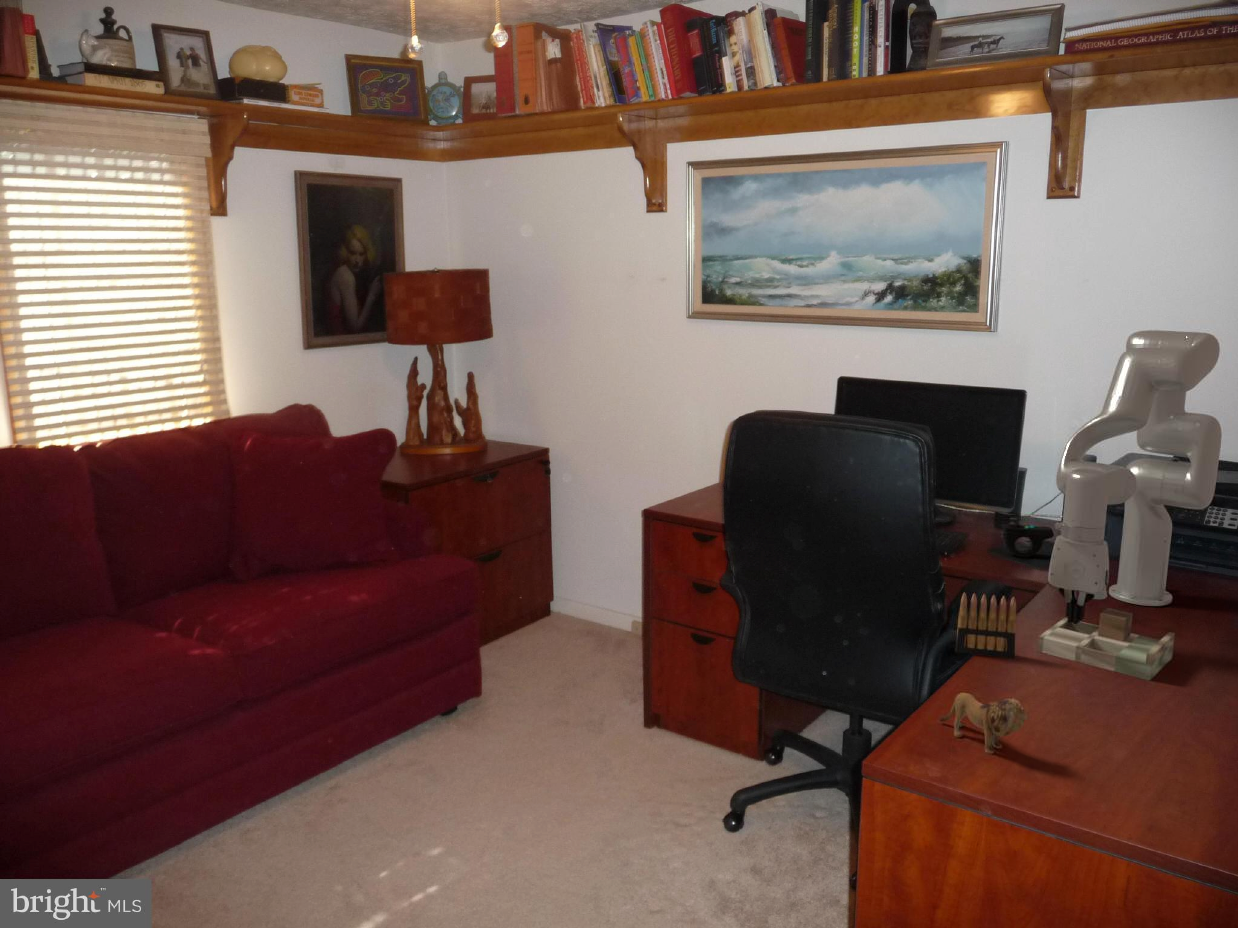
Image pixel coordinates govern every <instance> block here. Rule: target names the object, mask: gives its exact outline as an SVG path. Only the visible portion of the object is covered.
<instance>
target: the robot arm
mask: <svg viewBox="0 0 1238 928" xmlns="http://www.w3.org/2000/svg"><path fill="white" fill-rule="evenodd" d="M1220 348H1221V347H1220V343H1219V340H1218V339H1217V337H1216V336H1215V335H1213V334H1211V333H1208V332H1199V331H1197V332H1195V331H1178V330H1177V331H1175V330H1158V329H1157V330H1156V329H1155V330H1152V329H1151V330H1150V329H1149V330H1140V331H1136V332H1133V333H1132V334H1130V335H1129V336H1128V337H1127V339H1126V345H1125V351H1124V352H1122V354H1121V355H1120V356H1119V359H1118V360H1117V364H1116V367H1115V370H1114V372H1113V375H1112V379H1111V382H1110V385H1109V388H1108V391H1107V395H1106V397H1105V400H1104V403H1103V406H1102V410H1101V411H1100V413H1099V414H1097V415H1096V416H1094V417H1093V418H1091V419H1090V420H1089V421H1087V422H1086V423H1084V424H1083V425H1082V426H1081V427H1080V428H1078V430H1076V431H1075V432H1074V434H1073V435H1072V436H1070V438H1069V440H1068V442H1067V443H1066V445H1065V447H1064V450H1063V453H1062V455H1061V459H1060V462H1059V465H1058V469H1057V472H1056V476H1055V477H1056V480H1055V481H1056V483H1055V484H1056V487H1057V489H1058V491H1059V492H1060V493H1062V494H1063V495H1064V505H1063V512H1062V513H1063V517H1062V521H1061V522H1055V524H1054V529H1055V530H1058V531H1060V534H1059V535H1057V536H1056V539H1055V542H1054V544H1053V548H1052V551H1051V556H1050V557H1051V558H1050V562H1049V568H1048V577H1047V578H1048V579H1047V581H1048V582H1049V583H1048V588H1050V589H1053V590H1055V591H1057V592H1059V593H1060V595H1061V596H1062V597H1063V598H1064V601H1065V603H1066V609H1065V616H1066V618H1068V622H1069V623H1071V622H1072V623H1073V624H1077V623H1079V622H1080V621H1081V622H1082V621H1083V620H1084V618H1085V613H1086V611H1085V610H1086V604H1087V603H1088V602H1090V601H1092V600H1105V599H1106V598H1107V597H1108V593H1109V595H1110V596H1111V597H1112V598H1114V599H1115V600H1118V601H1121V602H1125V603H1129V604H1133V605H1138V606H1144V607H1145V606H1146V607H1147V606H1148V607H1162V606H1167V605H1169V604H1171V603H1172V601H1173V594H1171V593H1170V592H1169V591H1167V590H1166V584H1167V578H1168V577H1167V576H1168V568H1169V558H1170V550H1171V542H1172V540H1171V539H1172V533H1173V531H1172V530H1173V522H1172V518H1171V516H1170V514H1169V512H1168V511H1167V508H1166V507H1165V506H1170V507H1176V508H1177V507H1178V508H1184V509H1190V510H1191V509H1192V510H1203V509H1206V508H1207V507H1208V506H1210V504H1211V503H1212V501H1213V497H1214V496H1215V491H1216V483H1217V476H1218V470H1219V469H1218V468H1219V461H1220V454H1221V447H1222V446H1221V445H1222V428H1221V424H1220V421H1219V420H1218V419H1217V418H1216V417H1215V416H1212V415H1210V414H1206V413H1205V414H1204V413H1197V412H1196V413H1195V412H1187V411H1186V410H1185V407H1186V406H1185V405H1186V397H1187V392H1189V391H1192V390H1193V389H1194V388H1195V387H1196V386H1198V384H1199V383H1201V381H1203V380H1204V378H1206V377H1207V376H1208V375H1209V374H1210V373H1211V372H1212V371H1213V369H1214V368H1215V366H1216V365H1217V363H1218V360H1219V357H1220V352H1221V351H1220ZM1134 432H1136V443H1137V446H1138V447H1139V449H1141V450H1143V451H1144V452H1148V453H1152V454H1159V455H1166V456H1175V457H1181V458H1182V457H1183V458H1188V459H1189V461H1190V463H1186V462H1178V461H1172V460H1165V459H1157V458H1156V459H1155V458H1137V459H1134V460H1132V461H1131V462H1129V463H1128V464H1127V465H1126V467H1125V466H1120V465H1113V464H1109V463H1108V464H1107V463H1101V462H1095V461H1087V460H1083V459H1084V456H1085V455H1086V454H1087V453H1088V451H1089V450H1090V449H1091V448H1093V447H1094V446H1095V445H1097V444H1099V443H1101V442H1103V441H1106V440H1108V439H1113V438H1115V437H1119V436H1122V435H1126V434H1131V433H1134ZM1119 504H1124V515H1123V516H1124V517H1123V525H1122V533H1121V534H1122V535H1121V543H1120V552H1119V553H1120V554H1119V555H1120V556H1119V562H1118V563H1119V565H1118V573H1117V583H1116V584H1112V585H1111V586H1110V587H1109V588H1108V591H1107V587H1108V585H1109V579H1110V578H1109V577H1110V576H1109V575H1110V559H1109V557H1110V556H1109V546H1108V541H1106V540H1104V539H1105V534H1106V533H1105V531H1106V521H1107V512H1108V511H1107V510H1108V505H1119ZM1076 592H1079V594H1078V597H1077V593H1076Z"/></svg>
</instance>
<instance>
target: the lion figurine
mask: <svg viewBox="0 0 1238 928" xmlns="http://www.w3.org/2000/svg"><path fill="white" fill-rule="evenodd" d="M951 706H952V707H951V709H950V711H949V713H948V714H947V715H946V716H943V717H941V718H939V721H940V722H942V723H943V722H946V721H948V720H949V719H950V718H952V716H953V714H954V712H955V716H954V717H955V718H954V723H953V728H954V733H953V735H954V737H956V738H962V737H963V733H962V732H961V731H960V727H963V726H964V723H963V722H962V719H963V718H964V717H966V716H967V718H968V719H969V720H970V722H971V724H973V725H975V726H976V727H978V728H979V729H982V730H983V733H984V751H985V753H986V754H987V755H993V754H994V753H995V751H994V750H993V747H994V748H996V749H1001V750H1002V747H1003V744H1002V743H1001V742H1000V743H999V740H1000V737H1001V738H1004V737H1007V736H1009V735H1010V734H1011V733H1016V732H1018V731H1020V730H1021V729H1022V728H1023V725H1024V724H1025V723H1024V722H1025V720H1026V719H1027V718H1028V714H1029V713H1028V711H1026V710H1024V707H1023V706H1022V704H1021V702H1020V700H1018V699H1015V698H1006V699H1005V698H1004V699H1003V700H1000V701H994V702H993V701H992V702H990V701H989V702H988V703H986V704H983V703H981V702H980V701H978V700H977V699H976V698H975V696H974V695H973V694H970V693H966V692H960V693H959V694H957V695H956V696H955V698H954V701H953V704H952V705H951Z"/></svg>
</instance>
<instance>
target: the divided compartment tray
mask: <svg viewBox="0 0 1238 928" xmlns="http://www.w3.org/2000/svg"><path fill="white" fill-rule="evenodd" d="M1098 631H1099V624H1094V623H1088V622H1085V621H1082V620H1081V621H1080V622H1079V623H1077V624H1073V623H1072V622H1071V623H1069V622H1068V617H1063V618H1062V619H1060V620H1059V621H1057V623H1055V624H1054V625H1052V626H1051V627H1050V628H1048V629H1047V630H1045V631H1044V632H1043V633H1041V634H1040V635H1038V639H1037V648H1036V649H1037V650H1036V651H1037V652H1039V653H1044V654H1046V653H1047V654H1046V655H1050V656H1055V657H1058V658H1061V659H1066V660H1070V661H1073V662H1077V663H1081V664H1085V665H1088V666H1092V667H1097V668H1100V669H1104V670H1106V671H1107V670H1108V671H1111V672H1116V673H1119V674H1123V675H1126V676H1131V677H1135V678H1138V679H1142V680H1146V681H1148V682H1149V681H1151V680H1152V679H1153V678H1154V677H1155V676H1156V675H1157V674H1158V673H1159V672H1160V671H1161V670H1162V669H1163V668H1164V667H1165V666H1166V665H1167V664H1168V663H1169V662H1170V661H1171V660H1172V659H1173V654H1174V653H1173V652H1174V644H1175V637H1176V636H1175V635H1176V633H1175V632H1171V631H1169V632H1167V633H1166V634H1165V635H1164V636H1163V637H1162V638H1161V639H1157V638H1153V637H1148V636H1146V635H1145V636H1144V635H1140V634H1135V633H1131V634H1130V636H1129V637H1128V638H1127V639H1126V640H1124V641H1123V642H1122V641H1118V640H1113V639H1109V638H1105V637H1101V636H1098Z"/></svg>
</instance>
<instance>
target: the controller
mask: <svg viewBox="0 0 1238 928" xmlns="http://www.w3.org/2000/svg"><path fill="white" fill-rule="evenodd" d="M1009 520H1010V522H1009V523H1007V524H1006V523H1005V524H1004V523H1003V524H1002V528H1003V529H1002V531H1001V533H1000V534H1001V536H1000V537H1001V539H1003V543H1004V546H1005V548H1006V549H1007V550H1008V551H1009V553H1010V554H1012V555H1014V556H1016V557H1019V558H1029V557H1032V556H1034V555H1036V554H1038V552H1039V551H1040V550H1041V549H1042V548H1043V547H1042V546H1043V543H1044V541H1045V540H1048V539H1052V538H1053V537H1054V536H1055V534H1054V531H1053V529H1052V528H1051V527H1049V526H1038V525H1037V526H1036V525H1029V524H1024V525H1022V524H1020V523H1018V521H1019V518H1018V517H1015V516H1013V517H1010V518H1009ZM1021 538H1026V539H1027V538H1028V539H1029V541H1030V546H1029V547H1028V548H1027V549H1025V550H1020V549H1018V548H1017V547H1016V542H1017V540H1020V539H1021Z"/></svg>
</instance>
